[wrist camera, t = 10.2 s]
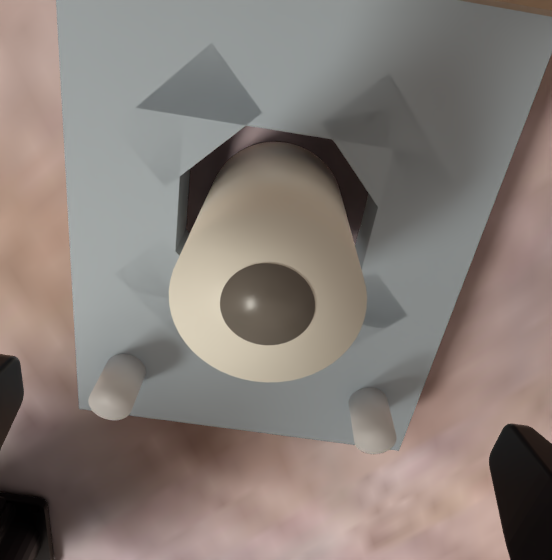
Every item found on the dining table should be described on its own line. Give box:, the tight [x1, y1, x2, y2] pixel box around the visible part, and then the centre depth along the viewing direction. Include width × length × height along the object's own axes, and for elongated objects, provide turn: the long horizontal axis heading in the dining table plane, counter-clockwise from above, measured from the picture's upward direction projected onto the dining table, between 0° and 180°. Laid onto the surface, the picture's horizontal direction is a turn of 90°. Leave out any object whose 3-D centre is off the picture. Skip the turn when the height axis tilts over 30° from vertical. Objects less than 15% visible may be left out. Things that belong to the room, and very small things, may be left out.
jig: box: [56, 0, 552, 454], centre depth 17 cm, size 19×14×4 cm
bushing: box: [169, 142, 367, 382], centre depth 15 cm, size 5×5×7 cm
